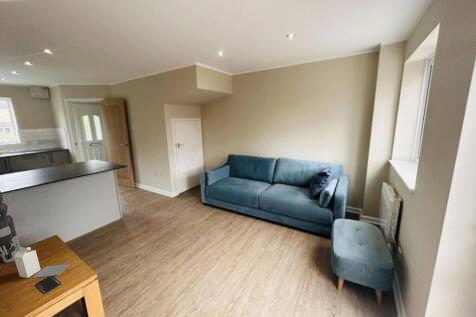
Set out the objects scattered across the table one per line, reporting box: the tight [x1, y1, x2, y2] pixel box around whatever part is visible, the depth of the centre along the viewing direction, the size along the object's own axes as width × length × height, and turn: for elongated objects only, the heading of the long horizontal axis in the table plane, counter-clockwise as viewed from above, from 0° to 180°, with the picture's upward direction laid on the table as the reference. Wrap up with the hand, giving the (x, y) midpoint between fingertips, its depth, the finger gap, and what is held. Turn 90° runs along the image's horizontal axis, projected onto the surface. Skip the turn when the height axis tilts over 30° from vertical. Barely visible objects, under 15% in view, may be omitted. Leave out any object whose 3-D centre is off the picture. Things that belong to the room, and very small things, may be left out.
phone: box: [35, 275, 62, 294], centre depth 118 cm, size 8×1×15 cm
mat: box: [31, 263, 72, 279], centre depth 130 cm, size 16×10×1 cm, turn 95°
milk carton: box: [14, 246, 42, 279], centre depth 127 cm, size 7×7×19 cm
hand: (9, 258), depth 125 cm, fingers closed
